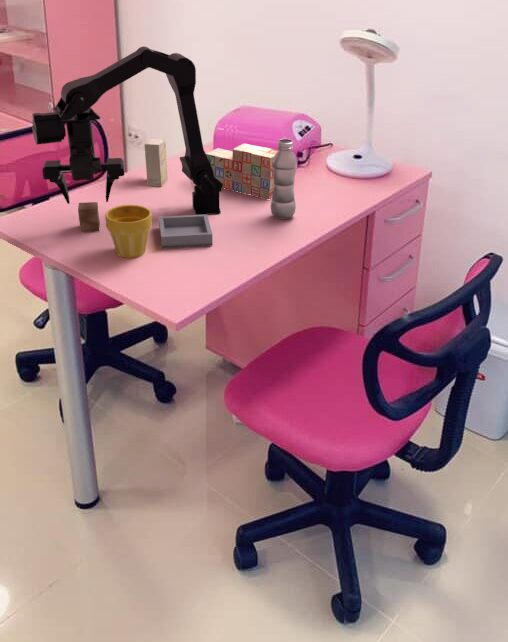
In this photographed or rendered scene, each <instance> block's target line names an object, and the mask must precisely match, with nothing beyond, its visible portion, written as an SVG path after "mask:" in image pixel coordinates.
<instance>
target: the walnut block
mask: <svg viewBox="0 0 508 642" xmlns="http://www.w3.org/2000/svg"><path fill="white" fill-rule="evenodd" d="M77 212H78V221H79V222H78V223H79V229H80V233H81V232H82V233H95V232H94V231H99V232H100V229H99V228H100V225H101V224H100V214H99V213H100V212H99V206H98V201H89V202H78V206H77Z"/></svg>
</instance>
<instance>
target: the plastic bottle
mask: <svg viewBox="0 0 508 642" xmlns="http://www.w3.org/2000/svg"><path fill="white" fill-rule="evenodd" d="M293 141H294V140H292V139H290V138H280V139H278V141H277V151H278V152H277V153H276V154H275V156H274V157H273V160H272V168H273V181H274V188H273V197H272V199H271V202H270V213H271V214H272V216H273V217H274V218H276V219H282V220H283V219H284V220H285V219H290V218H291V217H293V216H294V215H295V214H296V209H297V208H296V199H295V182H296V181H295V179H296V173H297V167H298V159H297V156H296V155H295V152H293V149H294V145H293V144H294V142H293Z"/></svg>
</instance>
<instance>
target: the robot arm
mask: <svg viewBox="0 0 508 642" xmlns="http://www.w3.org/2000/svg"><path fill="white" fill-rule="evenodd" d="M148 68H149V69H153V70H156V71H158V72H161V73H163V74H165V75H166V78H167V81H168V84H169V85H170V87H171V89H172V91H173V93H174V95H175V100H176V105H177V110H178V116H179V121H180V126H181V131H182V136H183V141H184V146H185V153H184V156H180V157H179V160H180V163H181V172H182V174H184V175H185V176H186V178H188V179H189V180H190V181H191V182H192V184H193V187H194V188H193V189H194V191H192V192H191V197H192V209H193V211H194V212H195V215H205V214H207V215H218V214H219V213H220V214H221V212H222V211H221V207H220V193H221V192H222V190H223V188H222V186H223V184H222V183H221V182H220V181H219V180H218V179H217V178H215V177H214V172H213V169H212V167H211V164H210V161H209V159H208V157H207V155H206V151H205V149H204V145H203V139H202V133H201V127H200V122H199V116H198V111H197V105H196V99H195V94H194V93H195V88H196V83H197V77H196V76H197V75H196V74H197V73H196V71H197V70H196V65H195V63H194V62H193V61H192V60H191V59H189V58H188V57H187V56H184V55H182V54H181V53H177V52H174V53H171V54H167V53H165V52H162V51H158V50H154V49H151V48H149V47H148V46H140V47H139V48H138V49H137V50H135V51H134V52H132V53H130V54H128V55H126V56H125V57H123V58H121V59H119V60H118V61H115V62H114V63H113V64H111V65H109V66H107V67H106V68H104V69H102V70H100V71H99V72H97V73H95V74H92V75H88V76H83V77H79V78H77V79H73V80H70V81H68V82H66V83H65V84H63V86H62V87H61V90H60V98H59V100H58V101H57V103H56V105H55V107H54V109H53V112H52V111H51V112H42V113H41V112H33V113H32V115H31V116H32V126H31V128H32V129H31V130H32V134H33V138H34V142H35V144H36V146H38V145H46V144H55V143H61V142H63V141H62V140H65V138H66V137H67V142H68V149H69V159H68V162H69V164H62V161H61V160H60V159H59V160H57V159H56V160H46V161H44V163H43V165H42V169H41V170H42V178H43V180H45V181H47V180H49V182H50V183H54V184H55V185H56V186H57V188H59V190H60V192H61V193H62V196H63V198H64V199H65V201H66V203H67V205H69V204H70V195H69V190H68V186H67V182H66V175H65V174H71V178H72V180H73V181H75V182H78V181H91V180H93V179H94V175H97V174H102V172H106V178H105V179H106V182H105V202H106V203H108V202H109V199H110V194H111V191H112V187H113V184H114V182H115V181H116V180H119V179H120V177H124V176H125V162H124V160H123V158H122V157H113V158H112V157H108V158H106V162H101V161H102V160H101V158H100V156H96V152H95V142H94V134H93V133H94V132H93V124H92V123H93V122H92V121H97V120H100V119H101V116H100V115H99V114H98V113H97V112H95V111H94V110H93V108H92V107H93V106H94V105H95V104H96V103H98V101H99V100H100V98H101V97H102V96H103V95H104V94H105V93H107V92H108V91H110V90H112V89H114V88H115V87H117V86H119V85H120V84H122V83H125V82H126V81H127V80H130V79H131V78H132V77H134V76H136V75H138V74H139V73H141V72H143V71H145V70H146V69H148ZM220 214H219V215H220Z"/></svg>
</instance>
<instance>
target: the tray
mask: <svg viewBox="0 0 508 642" xmlns="http://www.w3.org/2000/svg"><path fill="white" fill-rule="evenodd" d="M158 225H159V226H158V227H159V236H160V242H161V243H160V244H161V249H177V248H180V249H181V248H194V247H210V246H209V245H213V243H214V241H213V240H214V239H213V232H212V227H211V224H210V219H209V217H208V214H201V215H196V214H187V215H186V214H185V215H172V216H170V215H169V216H168V215H167V216H158Z"/></svg>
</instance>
